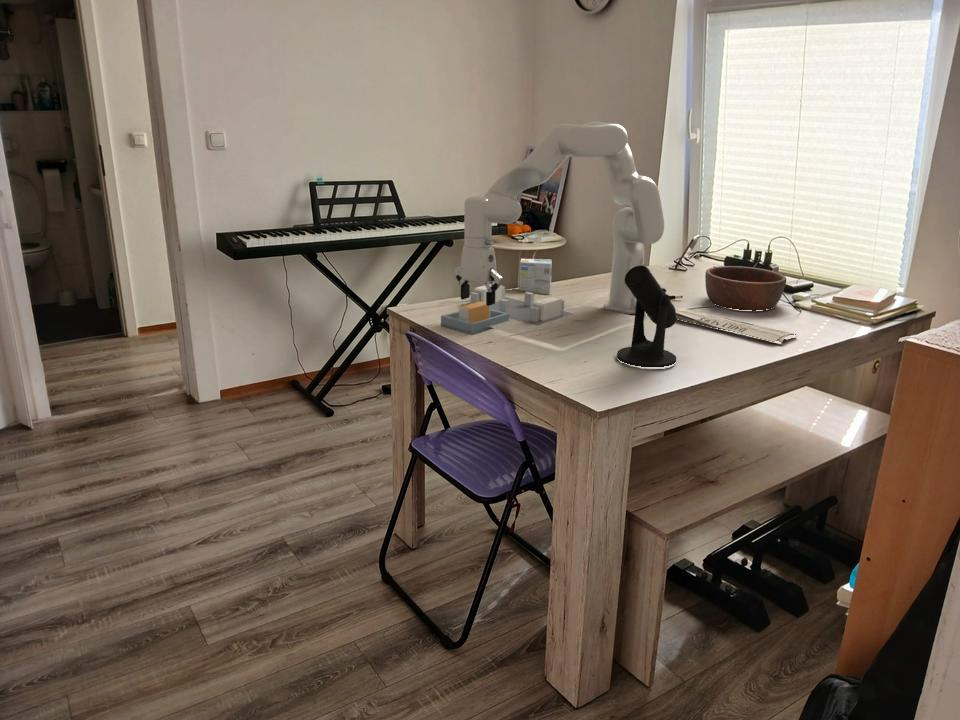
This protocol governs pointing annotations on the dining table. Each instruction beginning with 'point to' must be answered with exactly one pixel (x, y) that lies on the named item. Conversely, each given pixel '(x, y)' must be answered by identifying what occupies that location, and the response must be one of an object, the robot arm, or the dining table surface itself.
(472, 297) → the fuse block
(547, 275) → the light bulb box
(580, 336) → the dining table surface
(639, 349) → the microphone
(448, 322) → the tray
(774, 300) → the wooden bowl
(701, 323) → the newspaper
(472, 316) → the marked fuse
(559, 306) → the block
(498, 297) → the block
